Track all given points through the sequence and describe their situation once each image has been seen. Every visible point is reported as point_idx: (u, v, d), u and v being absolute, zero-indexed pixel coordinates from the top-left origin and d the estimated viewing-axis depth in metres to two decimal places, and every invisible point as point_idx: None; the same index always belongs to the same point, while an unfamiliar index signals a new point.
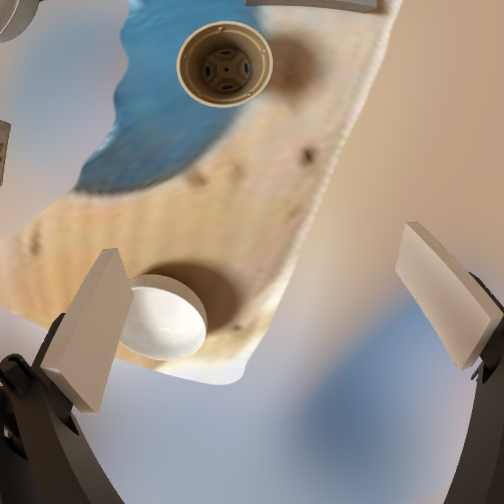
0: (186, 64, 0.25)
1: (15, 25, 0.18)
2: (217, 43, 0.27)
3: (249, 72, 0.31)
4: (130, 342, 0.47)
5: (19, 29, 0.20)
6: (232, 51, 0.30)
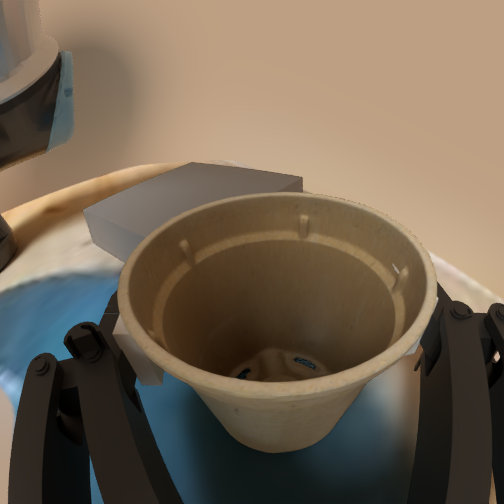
0: None
1: None
2: (207, 339, 0.13)
3: (318, 362, 0.14)
4: None
5: None
6: (249, 364, 0.15)
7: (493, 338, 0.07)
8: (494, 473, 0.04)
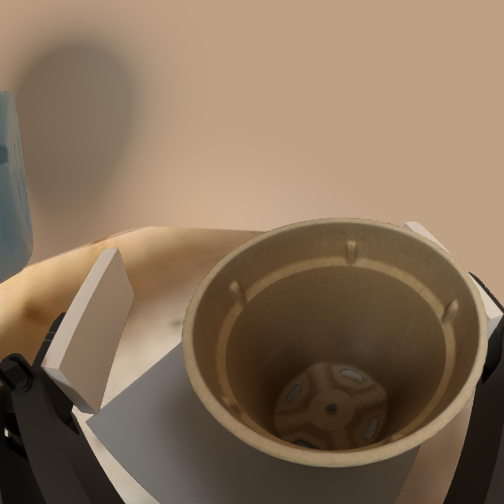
0: (254, 428, 0.07)
1: None
2: (261, 368, 0.13)
3: (364, 372, 0.14)
4: None
5: None
6: (298, 380, 0.15)
7: None
8: None
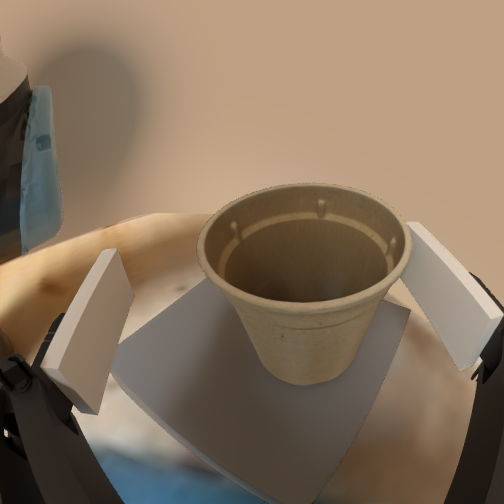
0: None
1: None
2: None
3: None
4: None
5: None
6: None
7: None
8: None
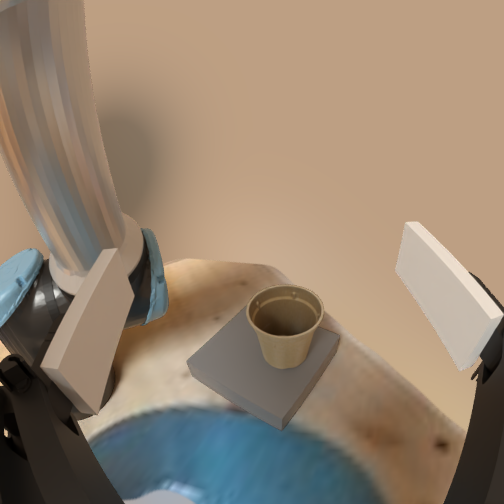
0: (262, 337, 0.34)
1: None
2: (261, 330, 0.39)
3: None
4: None
5: None
6: None
7: None
8: None
